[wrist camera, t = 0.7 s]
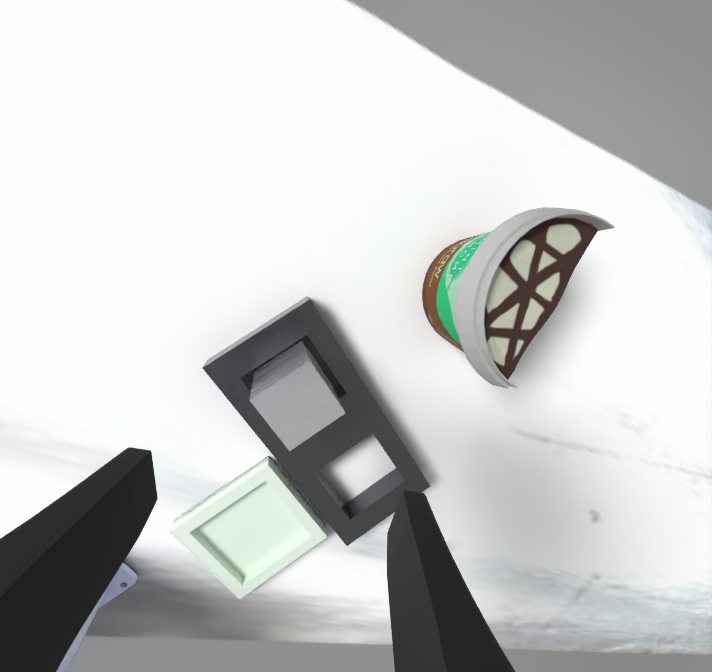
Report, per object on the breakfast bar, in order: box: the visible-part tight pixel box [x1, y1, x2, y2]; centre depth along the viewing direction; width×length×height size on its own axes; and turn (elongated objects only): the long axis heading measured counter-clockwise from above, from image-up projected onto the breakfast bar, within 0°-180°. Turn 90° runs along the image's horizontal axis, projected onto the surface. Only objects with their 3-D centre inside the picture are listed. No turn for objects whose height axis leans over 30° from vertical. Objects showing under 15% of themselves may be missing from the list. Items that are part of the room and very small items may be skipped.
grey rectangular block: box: [250, 341, 345, 451], centre depth 26 cm, size 4×4×6 cm
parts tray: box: [170, 456, 327, 599], centre depth 30 cm, size 9×9×1 cm
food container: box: [422, 208, 614, 388], centre depth 25 cm, size 12×6×10 cm, turn 150°
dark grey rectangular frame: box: [203, 297, 430, 546], centre depth 29 cm, size 9×20×2 cm, turn 31°
